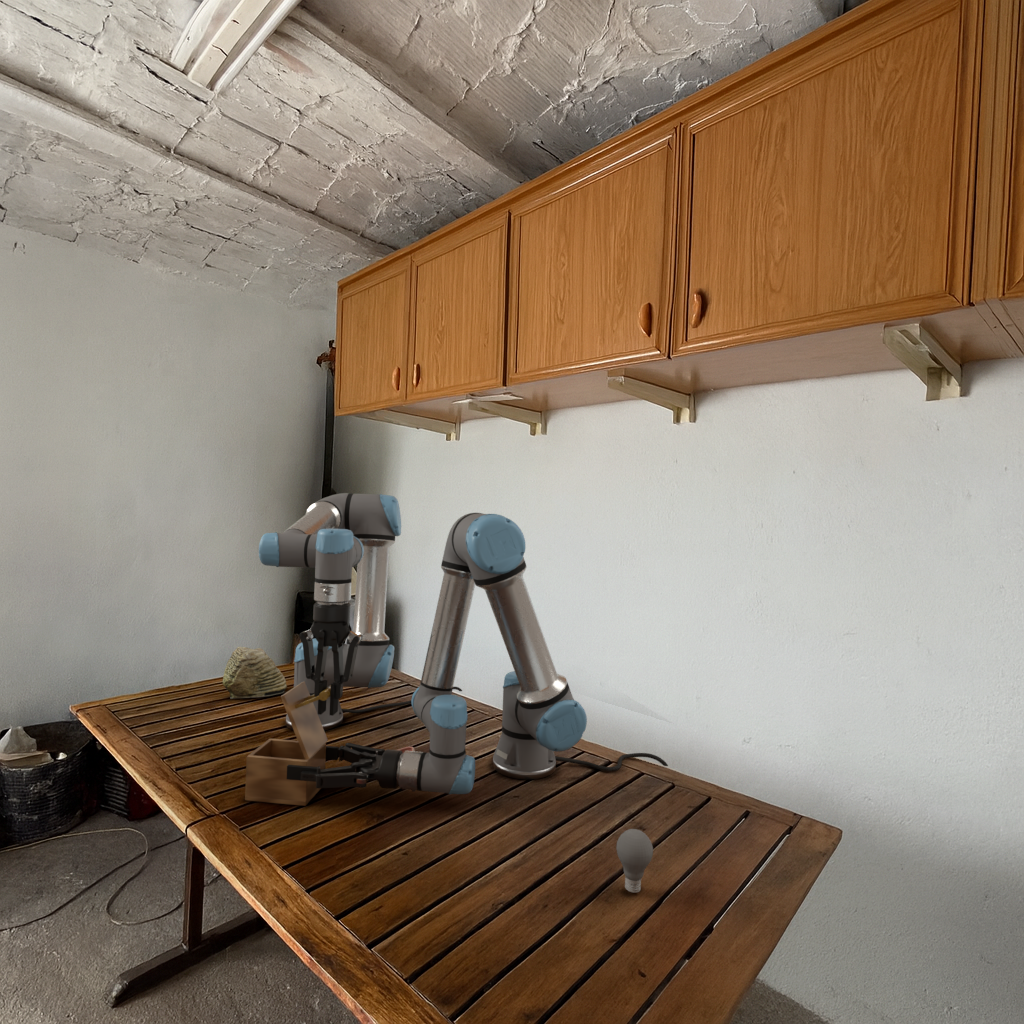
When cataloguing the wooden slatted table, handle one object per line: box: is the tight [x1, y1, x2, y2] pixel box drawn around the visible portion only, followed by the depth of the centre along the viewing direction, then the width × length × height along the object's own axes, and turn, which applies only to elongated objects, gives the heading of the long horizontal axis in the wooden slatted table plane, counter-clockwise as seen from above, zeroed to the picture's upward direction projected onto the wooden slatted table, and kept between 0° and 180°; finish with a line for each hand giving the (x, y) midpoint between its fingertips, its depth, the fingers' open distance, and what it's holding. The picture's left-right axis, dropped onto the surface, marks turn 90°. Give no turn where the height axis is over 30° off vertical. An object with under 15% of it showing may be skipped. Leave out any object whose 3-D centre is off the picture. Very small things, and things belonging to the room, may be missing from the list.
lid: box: [280, 681, 331, 760], centre depth 134 cm, size 14×10×8 cm
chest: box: [244, 738, 327, 807], centre depth 135 cm, size 13×10×9 cm
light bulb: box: [615, 828, 654, 894], centre depth 106 cm, size 6×6×10 cm
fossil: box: [222, 646, 288, 699], centre depth 198 cm, size 9×18×15 cm, turn 132°
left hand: (327, 712), depth 134 cm, fingers closed on lid, 2 cm apart
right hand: (298, 761), depth 135 cm, fingers closed on chest, 10 cm apart
